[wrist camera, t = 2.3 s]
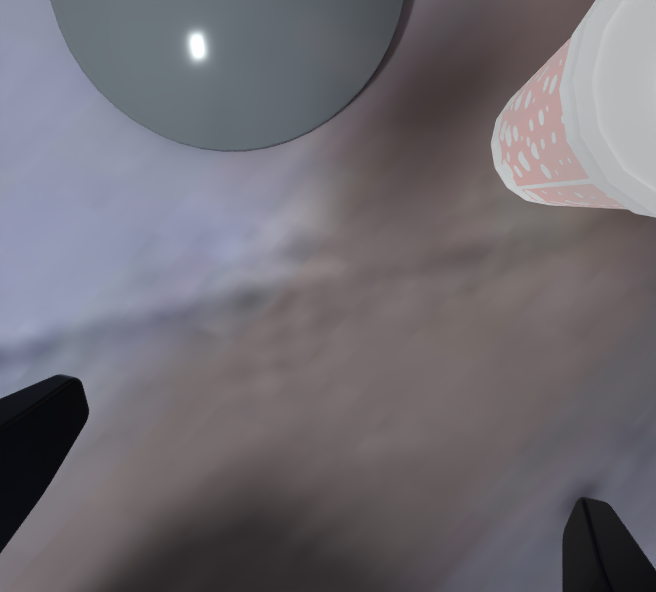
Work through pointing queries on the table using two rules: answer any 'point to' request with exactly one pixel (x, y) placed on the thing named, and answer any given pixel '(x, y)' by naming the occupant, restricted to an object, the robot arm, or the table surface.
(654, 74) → the beverage cup
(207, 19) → the coaster
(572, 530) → the robot arm
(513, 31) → the table surface
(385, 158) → the table surface
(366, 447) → the table surface
